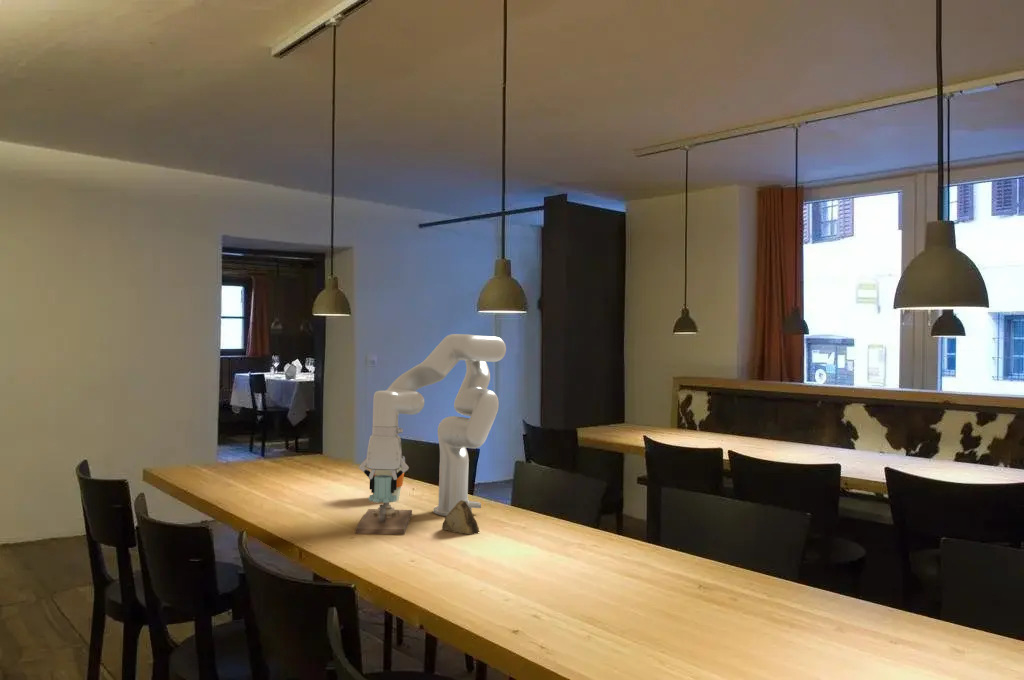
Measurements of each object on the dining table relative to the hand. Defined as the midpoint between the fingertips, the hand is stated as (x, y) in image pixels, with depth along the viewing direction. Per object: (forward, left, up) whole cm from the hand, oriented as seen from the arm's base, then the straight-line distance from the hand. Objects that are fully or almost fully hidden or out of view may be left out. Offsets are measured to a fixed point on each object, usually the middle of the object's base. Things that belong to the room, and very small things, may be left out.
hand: (382, 491), depth 222 cm
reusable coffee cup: (+3, -39, -11) cm, 40 cm away
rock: (-24, +3, -11) cm, 26 cm away
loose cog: (0, 0, -2) cm, 2 cm away
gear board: (-1, -4, -11) cm, 11 cm away
